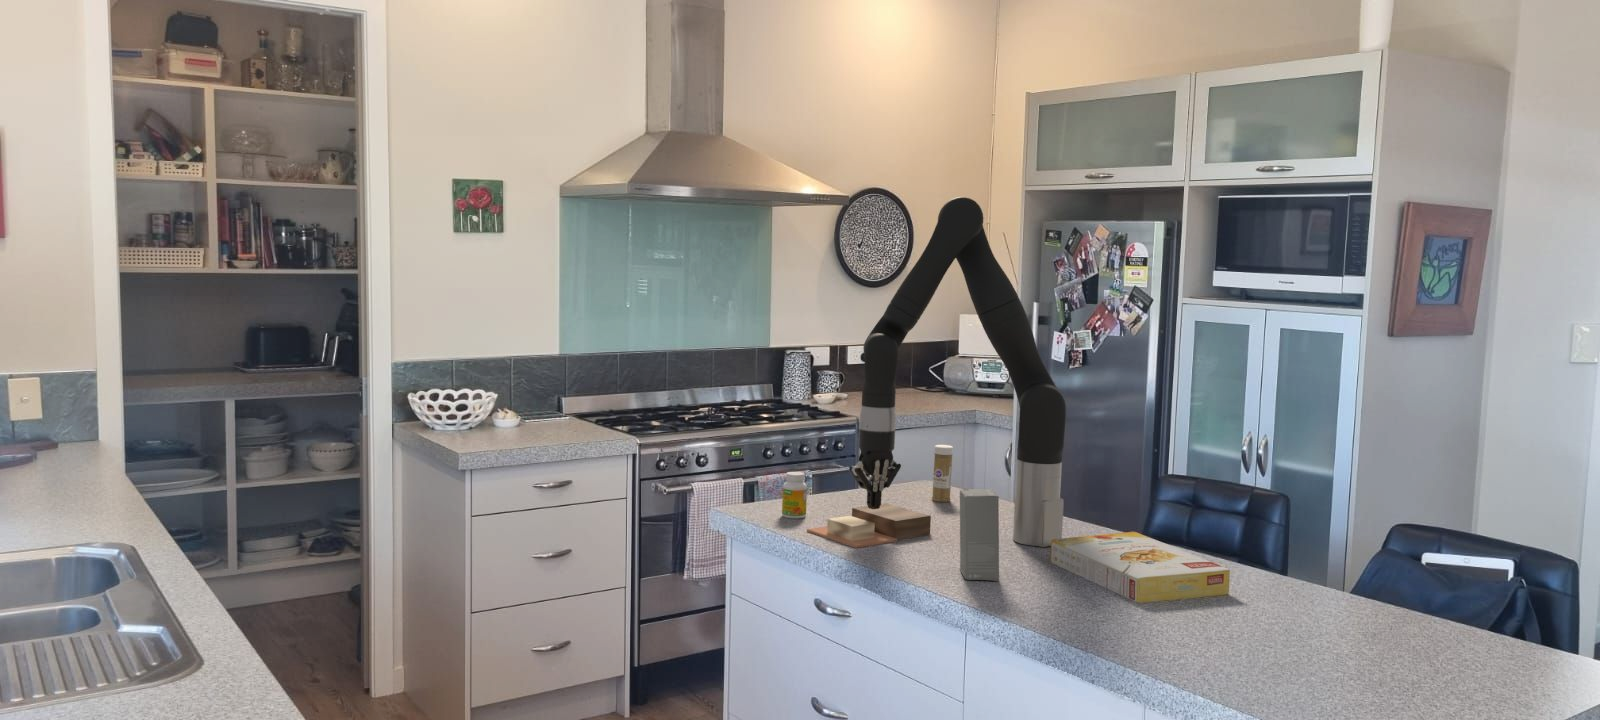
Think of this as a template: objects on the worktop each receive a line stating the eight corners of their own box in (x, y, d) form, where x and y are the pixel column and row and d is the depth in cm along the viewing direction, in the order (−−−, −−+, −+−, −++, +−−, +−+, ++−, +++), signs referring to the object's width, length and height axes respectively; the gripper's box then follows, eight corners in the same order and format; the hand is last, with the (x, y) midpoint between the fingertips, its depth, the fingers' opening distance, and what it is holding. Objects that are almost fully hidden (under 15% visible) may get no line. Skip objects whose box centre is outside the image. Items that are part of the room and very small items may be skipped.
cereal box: (1134, 529, 238) (1233, 565, 212) (1133, 556, 238) (1231, 595, 212) (1049, 537, 230) (1140, 575, 204) (1048, 565, 231) (1138, 607, 205)
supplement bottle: (778, 517, 262) (780, 474, 261) (786, 512, 267) (787, 470, 266) (801, 519, 260) (803, 476, 259) (808, 515, 265) (810, 472, 264)
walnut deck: (930, 534, 251) (930, 515, 250) (895, 539, 244) (896, 520, 244) (885, 521, 262) (886, 503, 261) (851, 526, 255) (852, 508, 255)
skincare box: (999, 582, 215) (1003, 496, 214) (960, 580, 215) (964, 495, 214) (993, 569, 224) (997, 487, 222) (955, 568, 224) (959, 486, 222)
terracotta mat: (896, 541, 243) (896, 538, 243) (856, 547, 237) (856, 545, 237) (846, 525, 256) (846, 523, 256) (806, 531, 249) (807, 529, 249)
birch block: (852, 526, 240) (852, 541, 240) (874, 523, 244) (874, 537, 244) (827, 518, 246) (827, 532, 246) (849, 515, 250) (849, 529, 250)
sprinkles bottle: (929, 501, 285) (932, 446, 283) (934, 497, 289) (936, 443, 288) (948, 503, 283) (951, 447, 282) (952, 499, 287) (955, 445, 286)
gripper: (865, 431, 241) (861, 515, 243) (912, 427, 249) (908, 508, 251) (841, 426, 247) (838, 508, 249) (888, 423, 255) (885, 501, 257)
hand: (873, 508), depth 250 cm, fingers closed
